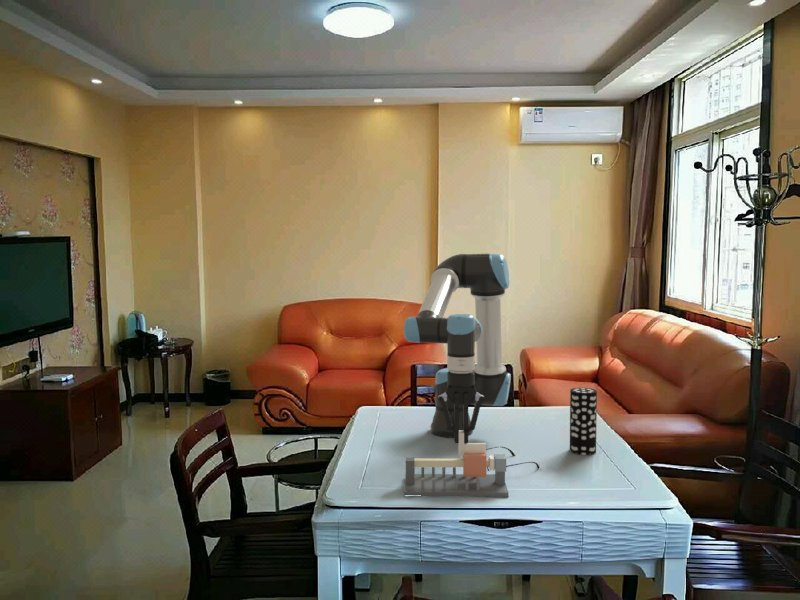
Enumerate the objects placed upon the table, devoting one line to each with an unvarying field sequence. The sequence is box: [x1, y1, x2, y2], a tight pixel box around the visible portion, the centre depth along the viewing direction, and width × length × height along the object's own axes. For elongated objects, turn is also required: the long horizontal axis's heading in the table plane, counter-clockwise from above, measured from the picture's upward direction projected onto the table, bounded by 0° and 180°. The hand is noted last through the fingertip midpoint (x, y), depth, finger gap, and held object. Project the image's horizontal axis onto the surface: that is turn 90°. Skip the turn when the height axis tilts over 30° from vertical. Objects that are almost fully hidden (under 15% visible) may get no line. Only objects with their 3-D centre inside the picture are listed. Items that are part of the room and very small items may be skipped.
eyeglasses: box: [486, 446, 540, 472], centre depth 203 cm, size 16×16×4 cm
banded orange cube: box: [462, 442, 487, 477], centre depth 184 cm, size 6×6×8 cm
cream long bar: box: [414, 453, 507, 473], centre depth 185 cm, size 27×4×4 cm, turn 88°
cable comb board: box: [403, 456, 509, 498], centre depth 185 cm, size 28×14×8 cm, turn 88°
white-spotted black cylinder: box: [569, 387, 598, 456], centre depth 215 cm, size 8×8×20 cm
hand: (461, 454), depth 185 cm, fingers closed
